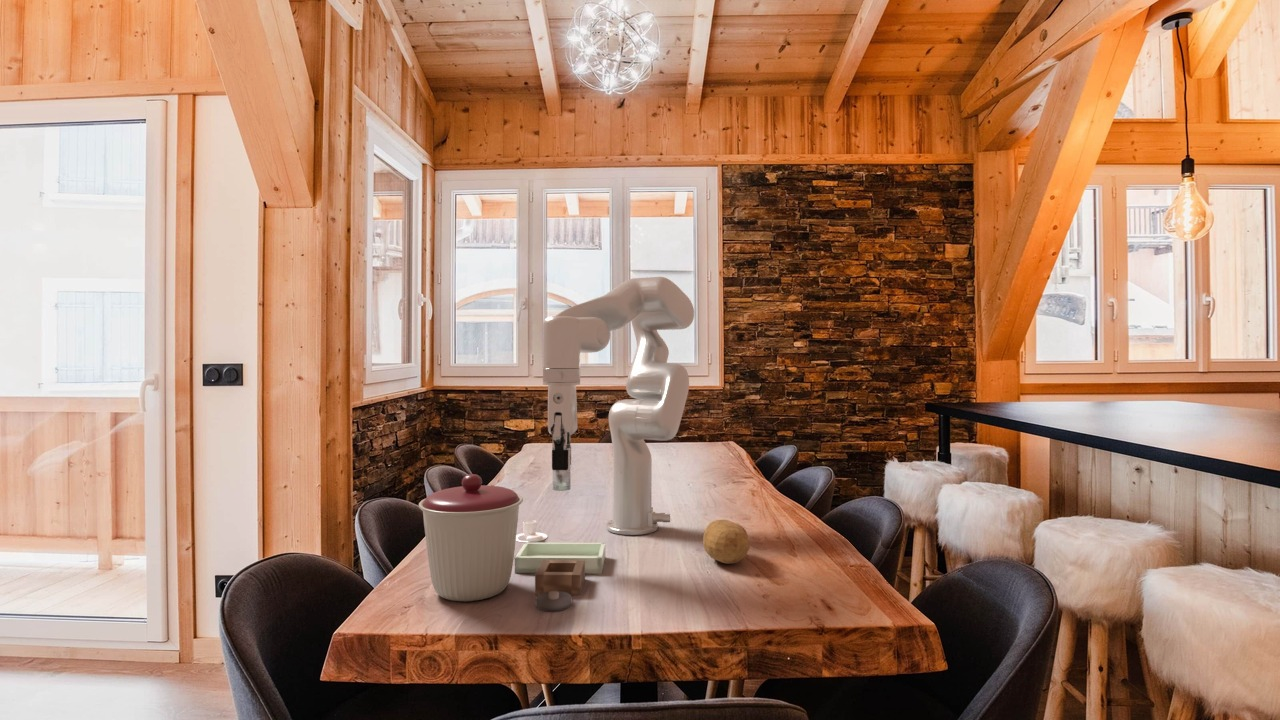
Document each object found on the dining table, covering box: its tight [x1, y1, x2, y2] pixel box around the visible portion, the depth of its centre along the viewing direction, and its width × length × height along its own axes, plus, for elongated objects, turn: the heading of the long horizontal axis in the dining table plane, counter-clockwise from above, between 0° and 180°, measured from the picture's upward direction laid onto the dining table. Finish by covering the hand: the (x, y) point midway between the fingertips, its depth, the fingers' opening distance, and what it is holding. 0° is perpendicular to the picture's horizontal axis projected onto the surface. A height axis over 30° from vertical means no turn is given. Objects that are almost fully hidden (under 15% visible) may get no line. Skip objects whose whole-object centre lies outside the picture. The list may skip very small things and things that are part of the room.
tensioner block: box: [534, 560, 586, 613], centre depth 113 cm, size 8×16×4 cm, turn 179°
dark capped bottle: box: [552, 443, 572, 492], centre depth 129 cm, size 4×4×9 cm
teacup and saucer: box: [516, 519, 548, 543], centre depth 148 cm, size 9×8×4 cm
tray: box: [514, 542, 606, 574], centre depth 129 cm, size 17×10×3 cm, turn 89°
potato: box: [702, 519, 751, 565], centre depth 131 cm, size 10×14×8 cm
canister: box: [418, 473, 524, 602], centre depth 114 cm, size 18×18×21 cm
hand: (561, 467), depth 129 cm, fingers closed on dark capped bottle, 3 cm apart
